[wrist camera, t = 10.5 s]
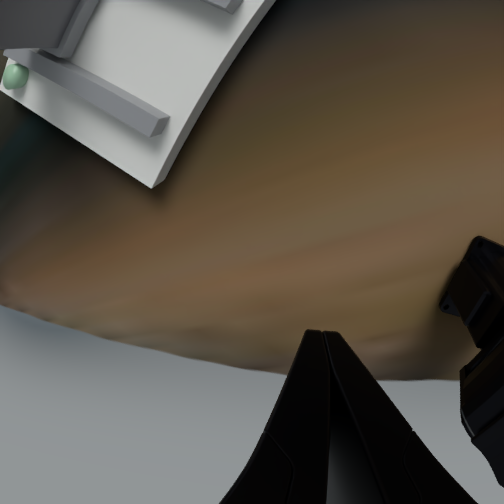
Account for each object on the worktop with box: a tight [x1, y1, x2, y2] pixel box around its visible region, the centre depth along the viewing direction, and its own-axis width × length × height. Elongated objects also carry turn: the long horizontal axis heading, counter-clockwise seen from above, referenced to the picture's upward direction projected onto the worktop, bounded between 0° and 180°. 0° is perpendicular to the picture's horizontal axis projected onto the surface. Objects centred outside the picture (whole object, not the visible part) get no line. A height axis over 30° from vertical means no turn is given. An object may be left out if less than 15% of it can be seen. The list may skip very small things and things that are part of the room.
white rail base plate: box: [0, 0, 276, 189], centre depth 14 cm, size 17×16×4 cm
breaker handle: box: [0, 0, 99, 58], centre depth 9 cm, size 4×6×10 cm, turn 148°
